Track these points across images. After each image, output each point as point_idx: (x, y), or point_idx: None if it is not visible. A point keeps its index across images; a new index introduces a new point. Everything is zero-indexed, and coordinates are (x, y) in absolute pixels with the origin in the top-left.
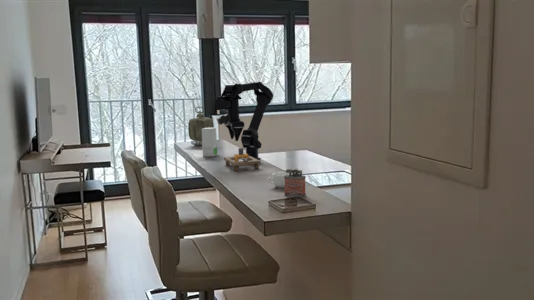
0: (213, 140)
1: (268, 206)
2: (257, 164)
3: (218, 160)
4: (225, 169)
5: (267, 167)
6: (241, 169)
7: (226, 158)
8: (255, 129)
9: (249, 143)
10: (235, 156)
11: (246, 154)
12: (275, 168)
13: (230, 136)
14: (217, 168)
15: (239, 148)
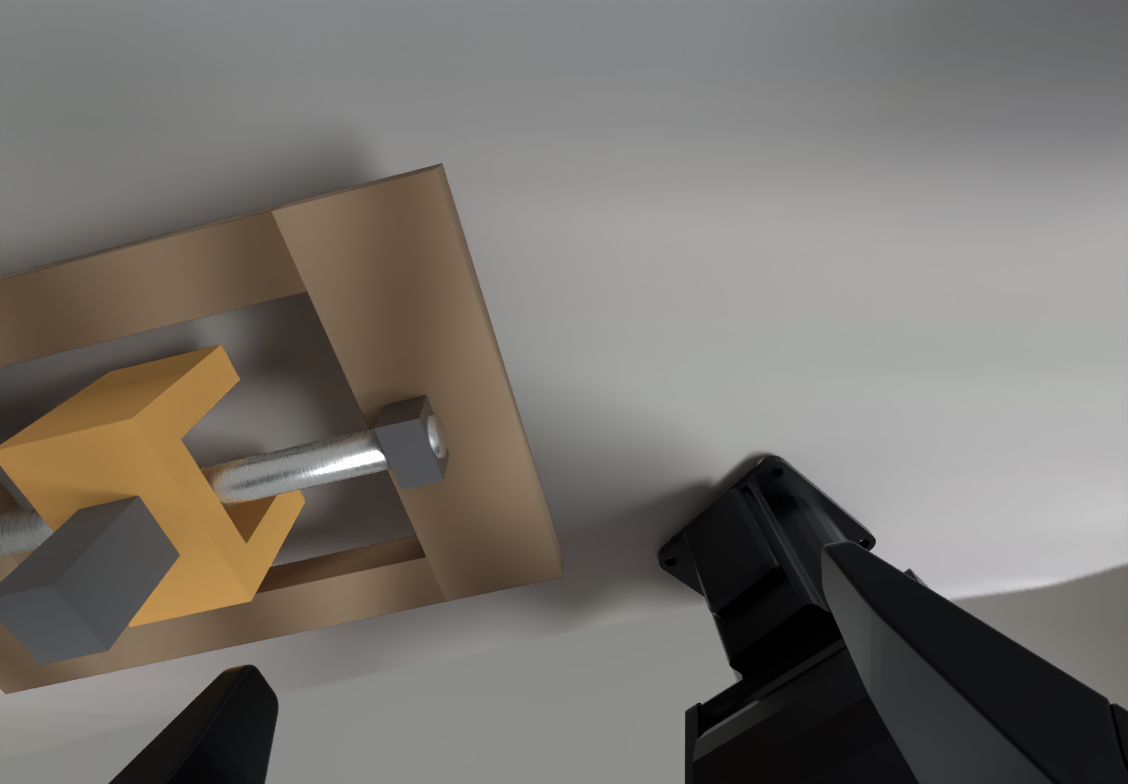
0: None
1: None
2: None
3: (935, 39)
4: (2, 178)
5: (204, 662)
6: (41, 412)
7: (239, 230)
8: None
9: (709, 748)
10: (53, 428)
11: (142, 607)
12: (148, 717)
13: (894, 588)
14: (81, 20)
15: (39, 603)
